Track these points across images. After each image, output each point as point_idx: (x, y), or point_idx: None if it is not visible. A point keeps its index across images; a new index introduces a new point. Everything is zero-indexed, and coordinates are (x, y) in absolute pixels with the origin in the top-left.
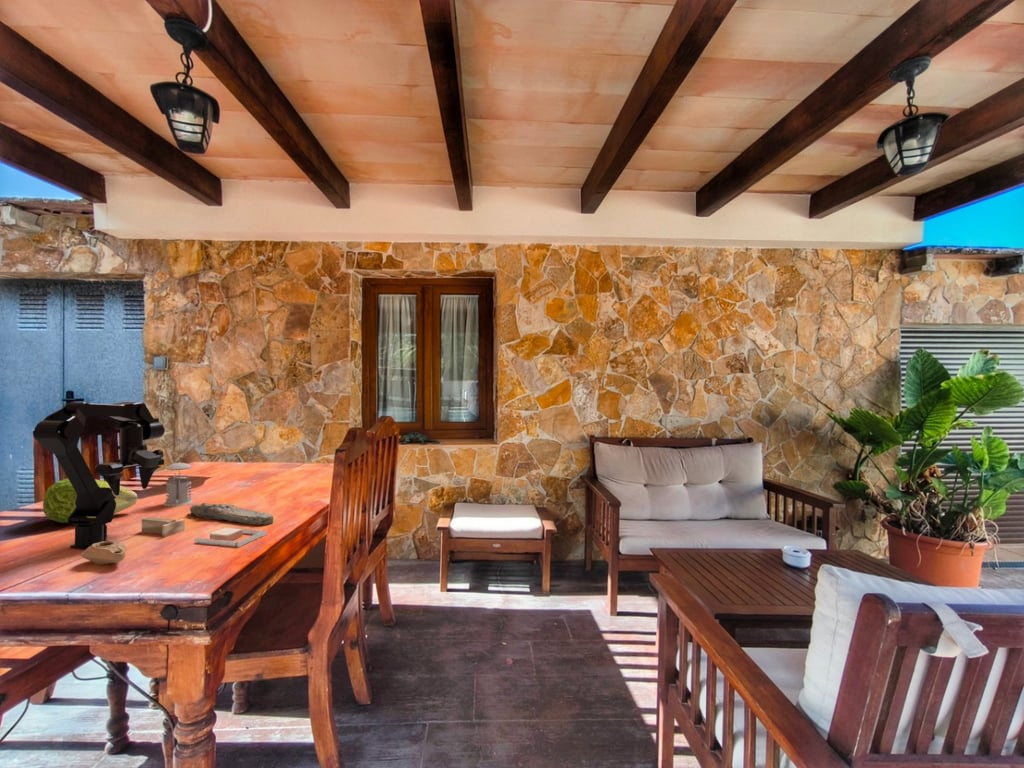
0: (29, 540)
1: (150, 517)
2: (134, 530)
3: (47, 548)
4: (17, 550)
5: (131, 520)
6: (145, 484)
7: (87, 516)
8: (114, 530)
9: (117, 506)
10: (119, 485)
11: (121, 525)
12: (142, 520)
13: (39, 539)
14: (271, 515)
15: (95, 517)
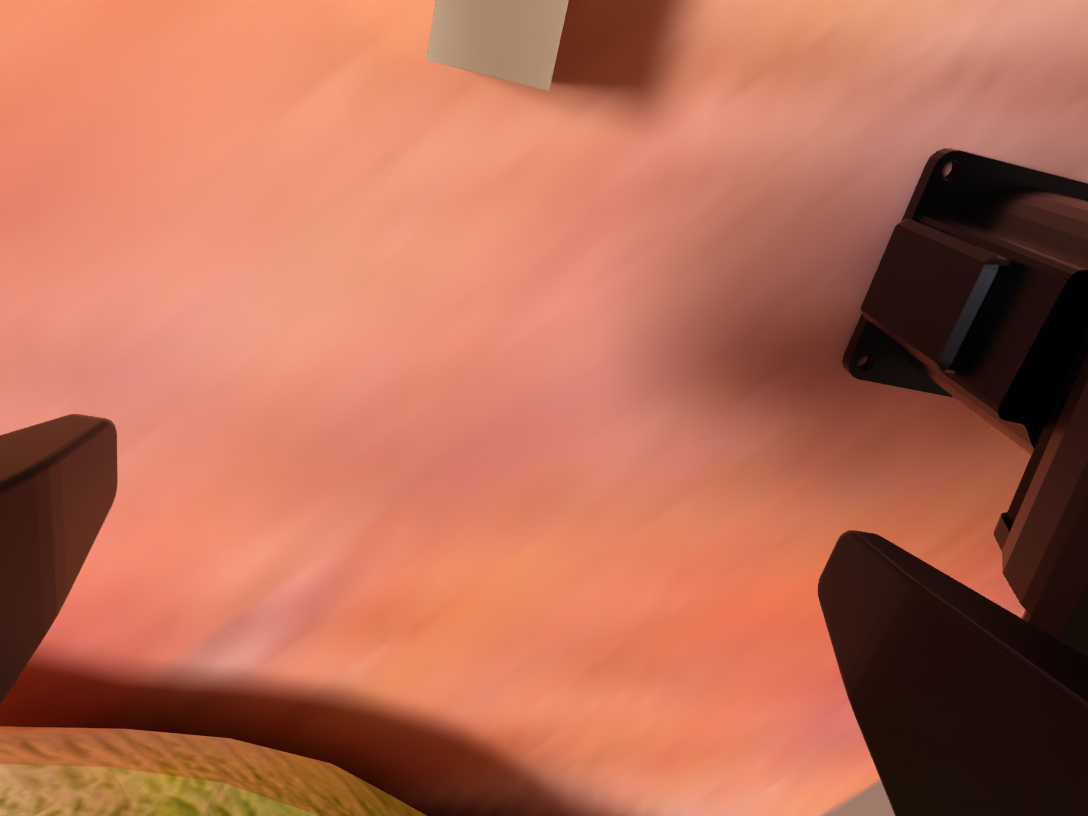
0: (761, 771)
1: (438, 17)
2: (483, 209)
3: (984, 547)
4: None
5: (133, 502)
6: (45, 487)
7: (349, 793)
8: (497, 413)
9: (56, 764)
10: (1056, 679)
11: (323, 470)
12: (552, 73)
13: (743, 739)
14: None
15: (289, 754)
